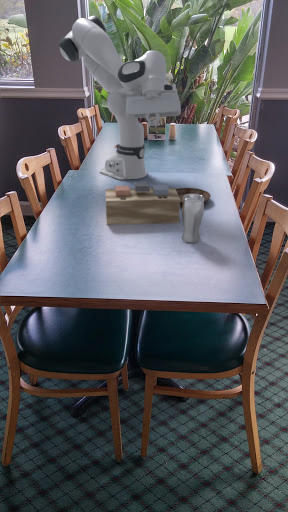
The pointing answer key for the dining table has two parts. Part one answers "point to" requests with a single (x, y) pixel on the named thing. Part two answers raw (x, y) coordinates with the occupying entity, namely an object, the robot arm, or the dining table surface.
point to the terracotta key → (122, 190)
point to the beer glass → (192, 217)
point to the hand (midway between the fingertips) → (152, 126)
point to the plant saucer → (185, 191)
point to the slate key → (160, 190)
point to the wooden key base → (142, 207)
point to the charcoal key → (141, 186)
